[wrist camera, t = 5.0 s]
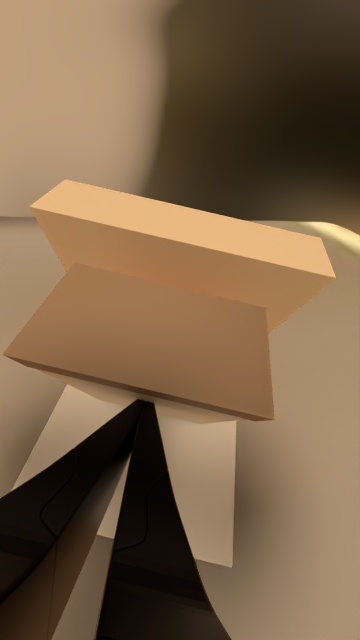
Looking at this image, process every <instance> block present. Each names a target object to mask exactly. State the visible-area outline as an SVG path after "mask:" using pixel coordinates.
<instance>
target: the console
mask: <svg viewBox="0 0 360 640" xmlns="http://www.w3.org/2000/svg"><path fill="white" fill-rule="evenodd" d="M30 208H31V210H32V212H33V214H34V216H35V217H36V219H37V221H38V223H39V224H40V226H41V228H42V230H43V231H44V233H45V235H46V237H47V238H48V240H49V242H50V244H51V245H52V247H53V249H54V251H55V252H56V254H57V256H58V258H59V259H60V261H61V263H62V265H63V266H64V268H65V270H66V272H68V270H69V269H70V268H71V267H72V265H73V264H74V263H79V264H83V265H87V266H92V267H96V268H100V269H105V270H109V271H113V272H117V273H122V274H126V275H130V276H134V277H139V278H143V279H147V280H151V281H156V282H160V283H164V284H169V285H173V286H177V287H181V288H186V289H190V290H194V291H198V292H203V293H207V294H211V295H215V296H220V297H224V298H228V299H233V300H237V301H241V302H245V303H250V304H254V305H258V306H262V307H266V311H267V324H268V334H269V333H270V332H272V331H273V330H274V329H275V328H276V327H278V326H279V325H280V324H281V323H282V322H284V321H285V320H286V319H287V318H288V317H290V316H291V315H292V314H293V313H294V312H296V311H297V310H298V309H299V308H300V307H302V306H303V305H304V304H305V303H306V302H308V301H309V300H310V299H311V298H312V297H314V296H315V295H316V294H317V293H318V292H320V291H321V290H322V289H323V288H324V287H326V286H327V285H328V284H329V283H330V282H332V281H333V280H334V279H335V278H336V277H335V274H334V271H333V269H332V266H331V264H330V261H329V258H328V256H327V253H326V250H325V248H324V245H323V243H322V240H321V238H317V237H313V236H309V235H304V234H300V233H296V232H291V231H287V230H283V229H278V228H274V227H270V226H265V225H261V224H257V223H252V222H248V221H244V220H239V219H235V218H231V217H226V216H222V215H218V214H213V213H209V212H205V211H200V210H196V209H191V208H187V207H183V206H179V205H174V204H170V203H166V202H161V201H157V200H153V199H148V198H144V197H140V196H135V195H131V194H127V193H122V192H118V191H114V190H109V189H105V188H100V187H96V186H92V185H88V184H83V183H79V182H74V181H70V180H64V181H63V182H61V183H60V184H59V185H58V186H56V187H55V188H53V189H52V190H51V191H50V192H48V193H47V194H45V195H44V196H43V197H41V198H40V199H39V200H37V201H36V202H35V203H33V204H32V205H31V206H30ZM126 407H127V406H123V405H119V404H115V403H111V402H106V401H102V400H98V399H96V398H94V397H92V396H90V395H88V394H86V393H84V392H82V391H80V390H78V389H76V388H74V387H72V386H70V385H68V384H67V386H66V387H65V389H64V391H63V393H62V395H61V397H60V399H59V401H58V403H57V405H56V407H55V408H54V410H53V412H52V414H51V416H50V418H49V420H48V422H47V424H46V426H45V427H44V429H43V431H42V433H41V435H40V437H39V439H38V441H37V443H36V445H35V446H34V448H33V450H32V452H31V454H30V456H29V458H28V460H27V462H26V464H25V465H24V467H23V469H22V471H21V473H20V475H19V477H18V479H17V481H16V483H15V484H14V486H13V488H12V490H14V489H15V488H17V487H19V486H20V485H22V484H23V483H25V482H26V481H28V480H29V479H31V478H32V477H34V476H35V475H37V474H38V473H40V472H41V471H43V470H44V469H46V468H47V467H48V466H50V465H51V464H53V463H54V462H55V461H57V460H58V459H59V458H61V457H62V456H63V455H65V454H66V453H67V452H69V451H70V450H71V449H72V448H75V446H77V445H78V444H79V443H80V442H82V441H83V440H84V439H86V438H87V437H88V436H89V435H91V434H92V433H93V432H95V431H96V430H97V429H99V428H100V427H101V426H102V425H104V424H105V423H106V422H108V421H109V420H110V419H112V418H113V417H114V416H115V415H117V414H118V413H119V412H121V411H122V410H123V409H124V408H126ZM157 418H158V422H159V427H160V432H161V437H162V441H163V446H164V451H165V456H166V461H167V465H168V471H169V474H170V479H171V484H172V488H173V492H174V496H175V500H176V503H177V507H178V510H179V513H180V517H181V520H182V523H183V526H184V529H185V532H186V535H187V538H188V541H189V544H190V547H191V550H192V554H193V557H194V559H198V560H202V561H206V562H210V563H214V564H218V565H222V566H227V567H231V568H232V564H233V527H234V490H235V453H236V421H227V422H216V423H205V424H198V423H194V422H190V421H186V420H181V419H177V418H173V417H169V416H165V415H161V414H157ZM130 456H131V455H130ZM129 461H130V457H129V460H128V462H127V465H126V467H125V469H124V472H123V474H122V476H121V479H120V481H119V483H118V485H117V488H116V490H115V492H114V495H113V497H112V499H111V502H110V504H109V506H108V509H107V511H106V513H105V516H104V518H103V520H102V523H101V525H100V527H99V530H98V532H97V534H96V535H100V536H104V537H109V538H113V539H114V536H115V531H116V526H117V521H118V516H119V511H120V506H121V501H122V496H123V491H124V486H125V481H126V476H127V471H128V466H129ZM12 490H11V491H12Z"/></svg>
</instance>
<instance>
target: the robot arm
mask: <svg viewBox="0 0 360 640" xmlns="http://www.w3.org/2000/svg"><path fill="white" fill-rule="evenodd" d="M130 455H131V456H130ZM129 457H130V461H129V466H128V471H127V476H126V481H125V486H124V491H123V496H122V501H121V506H120V511H119V516H118V521H117V526H116V531H115V536H114V540H113V545H112V550H111V555H110V560H109V565H108V570H107V575H106V580H105V585H104V590H103V595H102V600H101V605H100V610H99V615H98V620H97V625H96V630H95V635H94V640H231V638H230V637H229V635H228V633H227V632H226V630H225V628H224V627H223V625H222V623H221V622H220V620H219V618H218V617H217V615H216V613H215V611H214V609H213V607H212V605H211V603H210V601H209V599H208V596H207V594H206V591H205V589H204V586H203V583H202V581H201V578H200V575H199V572H198V569H197V566H196V563H195V560H194V557H193V554H192V550H191V547H190V544H189V541H188V538H187V535H186V532H185V529H184V526H183V523H182V520H181V517H180V513H179V510H178V507H177V503H176V500H175V496H174V492H173V488H172V484H171V479H170V474H169V471H168V465H167V461H166V456H165V451H164V446H163V441H162V437H161V432H160V427H159V422H158V418H157V413H156V408H155V404H154V403H153V402H149V401H146V402H145V401H144V400H140V399H136V400H135V401H134V402H132V403H131V404H130V405H128V406H127V407H126V408H124V409H123V410H122V411H121V412H119V413H118V414H117V415H115V416H114V417H113V418H112V419H110V420H109V421H108V422H106V423H105V424H104V425H102V426H101V427H100V428H99V429H97V430H96V431H95V432H93V433H92V434H91V435H89V436H88V437H87V438H86V439H84V440H83V441H82V442H80V443H79V444H78V445H77V446H75V448H72V449H71V450H70V451H69V452H67V453H66V454H65V455H63V456H62V457H61V458H59V459H58V460H57V461H55V462H54V463H53V464H51V465H50V466H48V467H47V468H46V469H44V470H43V471H41V472H40V473H38V474H37V475H35V476H34V477H32V478H31V479H29V480H28V481H26V482H25V483H23V484H22V485H20V486H19V487H17V488H15V489H14V490H12V491H11V492H9V493H8V494H6V495H5V496H3V497H2V498H0V640H51V639H52V636H53V634H54V632H55V629H56V627H57V625H58V622H59V620H60V618H61V615H62V613H63V611H64V608H65V606H66V604H67V602H68V599H69V597H70V595H71V592H72V590H73V588H74V585H75V583H76V581H77V578H78V576H79V574H80V571H81V569H82V567H83V564H84V562H85V560H86V557H87V555H88V553H89V550H90V548H91V546H92V543H93V541H94V539H95V537H96V534H97V532H98V530H99V527H100V525H101V523H102V520H103V518H104V516H105V513H106V511H107V509H108V506H109V504H110V502H111V499H112V497H113V495H114V492H115V490H116V488H117V485H118V483H119V481H120V479H121V476H122V474H123V472H124V469H125V467H126V465H127V462H128V460H129Z"/></svg>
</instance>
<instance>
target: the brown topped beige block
mask: <svg viewBox="0 0 360 640" xmlns="http://www.w3.org/2000/svg"><path fill="white" fill-rule="evenodd" d="M2 355H4V356H6V357H8V358H10V359H12V360H15V361H17V362H19V363H21V364H23V365H25V366H27V367H31V368H35V369H38V370H40V371H42V372H44V373H46V374H48V375H50V376H52V377H54V378H56V379H58V380H60V381H62V382H64V383H66V384H68V385H70V386H72V387H74V388H76V389H78V390H80V391H82V392H84V393H86V394H88V395H90V396H92V397H94V398H96V399H98V400H102V401H106V402H111V403H115V404H119V405H123V406H128V405H130V404H131V403H132V402H134V401H135V400H136V399H140V400H144V401H145V402H146V401H149V402H153V403H154V404H155V408H156V413H157V414H161V415H165V416H169V417H173V418H177V419H181V420H186V421H190V422H194V423H198V424H205V423H216V422H227V421H238V420H252V421H264V420H275V419H274V405H273V392H272V378H271V365H270V351H269V338H268V324H267V311H266V307H262V306H258V305H254V304H250V303H245V302H241V301H237V300H233V299H228V298H224V297H220V296H215V295H211V294H207V293H203V292H198V291H194V290H190V289H186V288H181V287H177V286H173V285H169V284H164V283H160V282H156V281H151V280H147V279H143V278H139V277H134V276H130V275H126V274H122V273H117V272H113V271H109V270H105V269H100V268H96V267H92V266H87V265H83V264H79V263H74V264H73V265H72V267H71V268H70V269H69V270H68V272H67V273H66V274H65V275H64V277H63V278H62V279H61V281H60V282H59V283H58V284H57V286H56V287H55V288H54V289H53V291H52V292H51V293H50V295H49V296H48V297H47V298H46V300H45V301H44V302H43V303H42V305H41V306H40V307H39V309H38V310H37V311H36V312H35V314H34V315H33V316H32V318H31V319H30V320H29V321H28V323H27V324H26V325H25V326H24V328H23V329H22V330H21V332H20V333H19V334H18V335H17V337H16V338H15V339H14V340H13V342H12V343H11V344H10V346H9V347H8V348H7V349H6V351H5V352H4V353H3V354H2Z"/></svg>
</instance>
